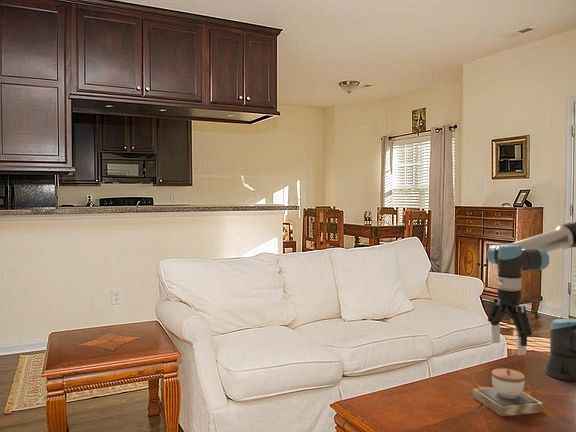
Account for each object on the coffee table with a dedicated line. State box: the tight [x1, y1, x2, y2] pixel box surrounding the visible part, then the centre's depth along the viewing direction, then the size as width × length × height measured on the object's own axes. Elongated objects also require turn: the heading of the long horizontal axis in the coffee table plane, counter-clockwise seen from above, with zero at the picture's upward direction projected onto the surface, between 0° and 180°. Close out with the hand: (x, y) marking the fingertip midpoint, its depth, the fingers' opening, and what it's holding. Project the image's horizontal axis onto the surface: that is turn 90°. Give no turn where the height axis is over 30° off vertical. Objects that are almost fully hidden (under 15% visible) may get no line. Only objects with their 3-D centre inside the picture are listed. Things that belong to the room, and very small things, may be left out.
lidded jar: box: [491, 368, 526, 399], centre depth 170 cm, size 11×11×9 cm
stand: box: [472, 386, 544, 417], centre depth 171 cm, size 16×16×3 cm
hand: (508, 348), depth 170 cm, fingers open, 13 cm apart
